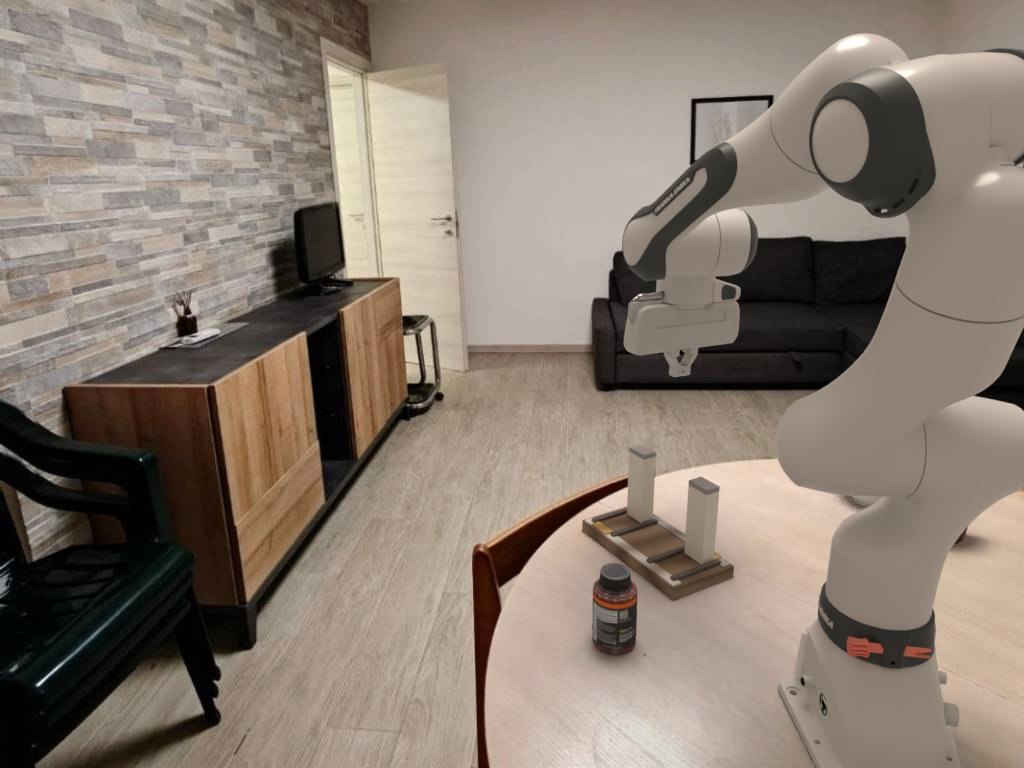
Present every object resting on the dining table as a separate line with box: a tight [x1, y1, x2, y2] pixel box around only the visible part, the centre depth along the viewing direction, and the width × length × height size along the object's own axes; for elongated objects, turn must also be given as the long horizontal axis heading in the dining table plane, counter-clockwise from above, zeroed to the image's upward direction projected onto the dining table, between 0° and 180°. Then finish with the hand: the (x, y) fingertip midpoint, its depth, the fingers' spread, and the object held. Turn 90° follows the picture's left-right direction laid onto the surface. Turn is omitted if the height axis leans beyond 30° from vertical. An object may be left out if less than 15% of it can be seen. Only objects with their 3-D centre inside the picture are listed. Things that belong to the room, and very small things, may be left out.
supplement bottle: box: [591, 562, 638, 655], centre depth 98 cm, size 6×6×11 cm
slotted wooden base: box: [581, 506, 735, 601], centre depth 120 cm, size 24×12×3 cm, turn 29°
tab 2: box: [684, 476, 720, 565], centre depth 113 cm, size 4×2×13 cm, turn 29°
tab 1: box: [626, 443, 657, 523], centre depth 126 cm, size 4×2×13 cm, turn 29°
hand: (679, 375), depth 117 cm, fingers closed
